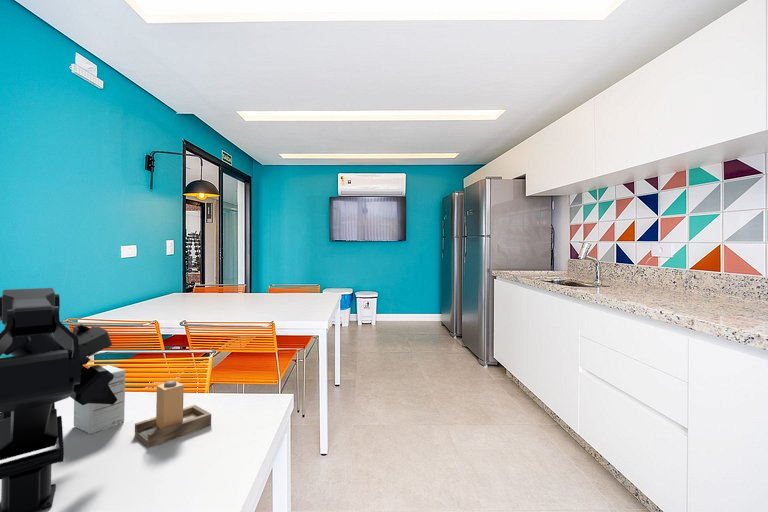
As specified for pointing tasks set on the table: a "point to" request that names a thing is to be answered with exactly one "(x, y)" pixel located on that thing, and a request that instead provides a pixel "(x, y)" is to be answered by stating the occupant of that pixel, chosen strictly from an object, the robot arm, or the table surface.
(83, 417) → the supplement box
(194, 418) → the box
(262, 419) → the table surface
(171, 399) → the block
